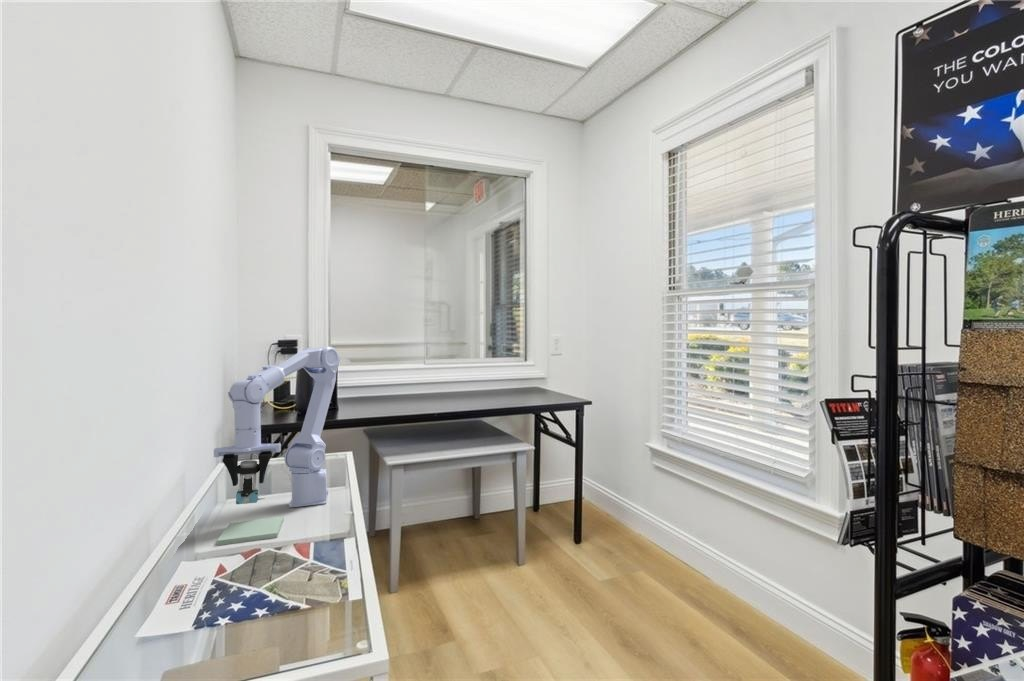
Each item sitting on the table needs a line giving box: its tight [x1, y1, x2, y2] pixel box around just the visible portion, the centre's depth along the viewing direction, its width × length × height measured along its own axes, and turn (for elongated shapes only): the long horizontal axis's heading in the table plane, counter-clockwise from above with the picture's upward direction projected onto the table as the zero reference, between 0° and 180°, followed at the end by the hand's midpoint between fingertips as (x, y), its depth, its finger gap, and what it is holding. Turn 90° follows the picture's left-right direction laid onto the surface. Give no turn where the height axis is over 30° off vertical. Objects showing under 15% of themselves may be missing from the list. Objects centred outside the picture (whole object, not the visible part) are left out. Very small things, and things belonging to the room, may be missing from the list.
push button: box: [235, 459, 266, 505], centre depth 122 cm, size 7×5×10 cm
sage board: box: [216, 516, 285, 546], centre depth 116 cm, size 12×12×1 cm
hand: (248, 483), depth 121 cm, fingers closed on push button, 5 cm apart
